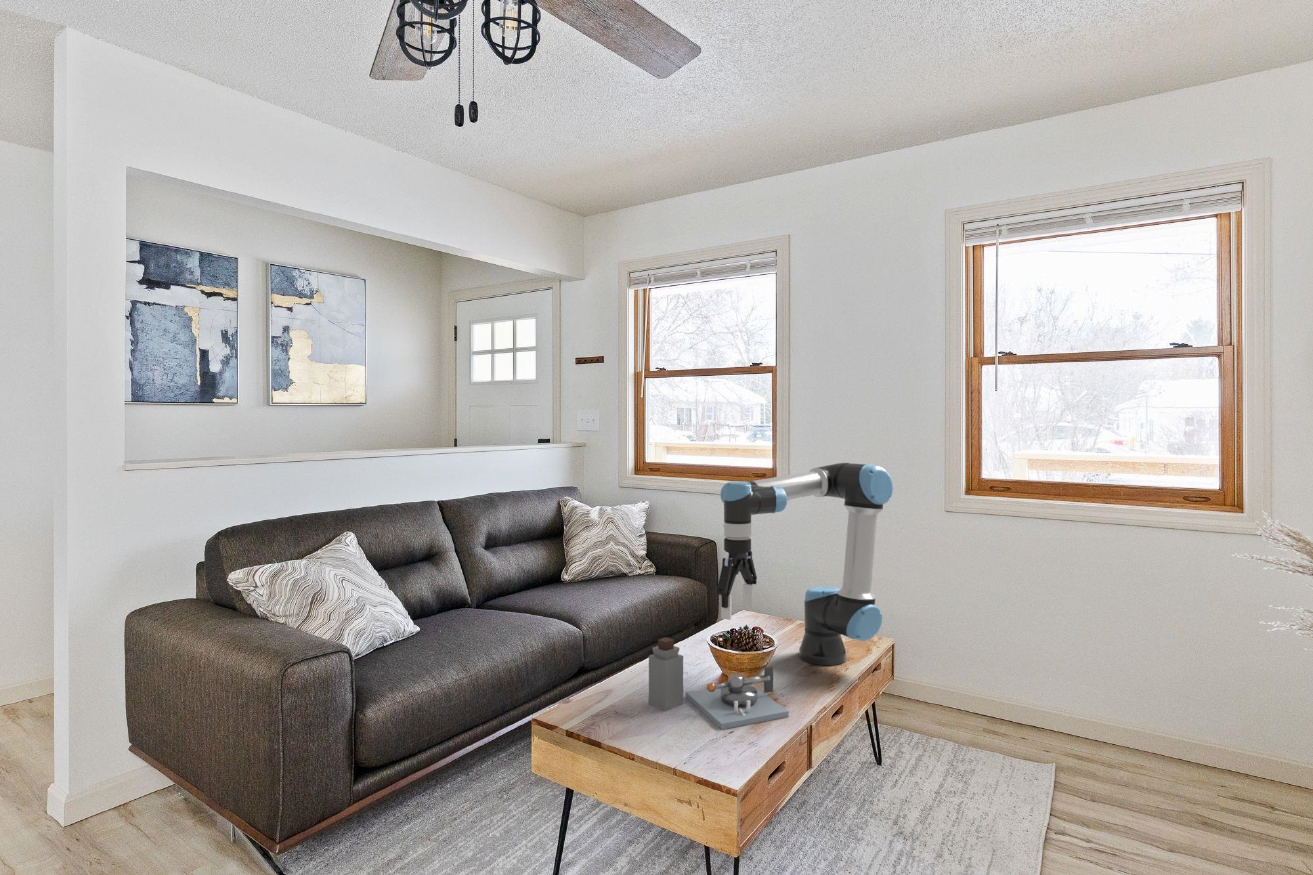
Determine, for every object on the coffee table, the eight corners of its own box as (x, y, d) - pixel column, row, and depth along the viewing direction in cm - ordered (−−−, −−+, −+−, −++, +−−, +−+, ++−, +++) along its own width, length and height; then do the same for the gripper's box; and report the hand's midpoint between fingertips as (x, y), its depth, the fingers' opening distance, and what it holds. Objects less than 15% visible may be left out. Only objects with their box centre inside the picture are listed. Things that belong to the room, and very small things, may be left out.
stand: (747, 686, 207) (747, 671, 207) (788, 716, 187) (788, 699, 187) (685, 696, 200) (685, 681, 200) (721, 729, 179) (721, 712, 179)
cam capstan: (715, 710, 185) (715, 683, 185) (699, 696, 195) (699, 670, 194) (781, 698, 193) (782, 672, 193) (763, 685, 202) (763, 660, 202)
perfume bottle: (665, 696, 200) (665, 634, 199) (683, 703, 195) (683, 639, 195) (648, 703, 195) (648, 639, 195) (666, 711, 191) (666, 645, 190)
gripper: (745, 529, 208) (745, 600, 209) (703, 543, 188) (704, 621, 188) (768, 531, 204) (768, 604, 205) (729, 546, 183) (729, 626, 184)
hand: (737, 612), depth 197 cm, fingers open, 13 cm apart
